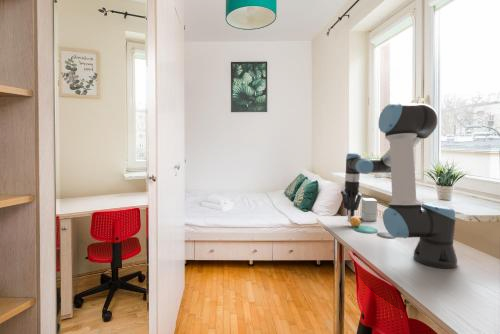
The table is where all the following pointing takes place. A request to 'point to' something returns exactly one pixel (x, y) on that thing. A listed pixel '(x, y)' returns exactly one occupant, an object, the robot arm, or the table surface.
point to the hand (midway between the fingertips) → (350, 221)
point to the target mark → (365, 229)
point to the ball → (355, 222)
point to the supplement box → (369, 209)
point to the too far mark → (385, 235)
